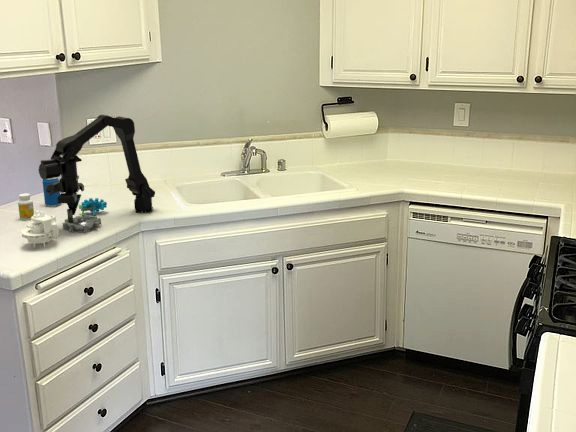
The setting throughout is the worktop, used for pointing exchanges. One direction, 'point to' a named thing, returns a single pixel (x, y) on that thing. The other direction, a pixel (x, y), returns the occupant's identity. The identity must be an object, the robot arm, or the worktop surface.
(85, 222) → the sprocket
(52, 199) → the beverage can
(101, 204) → the gear
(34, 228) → the mechanical part
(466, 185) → the worktop surface
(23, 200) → the supplement bottle
